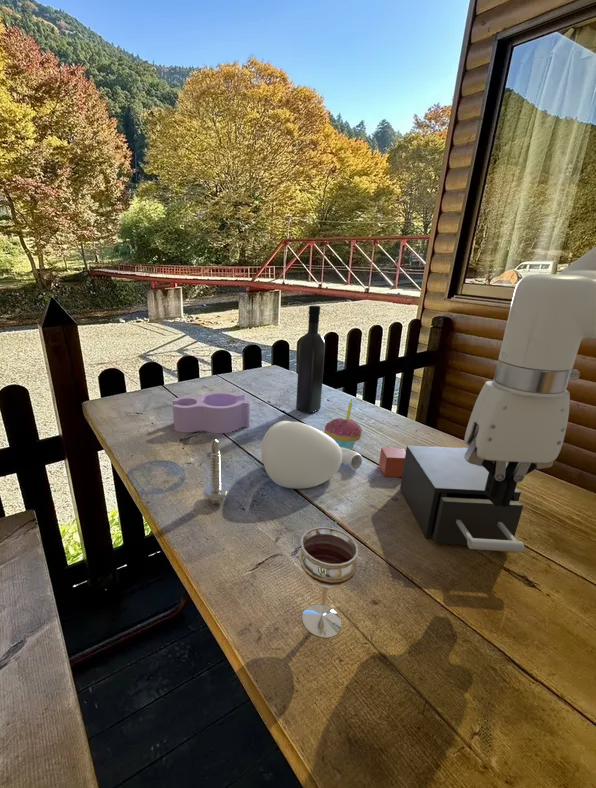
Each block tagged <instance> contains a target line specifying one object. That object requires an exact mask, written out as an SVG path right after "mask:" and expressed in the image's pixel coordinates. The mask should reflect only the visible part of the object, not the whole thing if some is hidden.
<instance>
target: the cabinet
mask: <svg viewBox="0 0 596 788" xmlns="http://www.w3.org/2000/svg"><path fill="white" fill-rule="evenodd" d="M468 448H469V447H454V446H453V447H452V446H451V447H450V446H424V445H423V446H422V445H406V449H405V453H406V454H405V461H404V467H403V473H402V477H401V480H400V485H399V490H400V492H401V494H402V496H403V498H404V500H405V502H406V503H407V506H408V507H409V509H410V511H411V513H412V515H413V517H414V519H415V521H416V523H417V525H418V527H419V529H420V530H421V532H422V534H423V537H424V538H425V539H433V533H434V530H433V528H432V527H433V522H434V517H435V512H436V507H437V502H438V498H439V493H457V494H477V495H486V494H485V486H486V482H487V478H488V474H489V472H488V471H487V470H486V469H485V468H484V467H482V466H477V465H474V464H470V463H469V462H468V461H467V460H466V459H465V458H464V455H465V453H466V452H467V450H468ZM521 494H522V492H521V491H520V490H519V489H518V487H516V488H515V492H514V495H513V498H511V501H519V500H520V497H521ZM519 502H520V501H519Z"/></svg>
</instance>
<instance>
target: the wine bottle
mask: <svg viewBox="0 0 596 788" xmlns="http://www.w3.org/2000/svg"><path fill="white" fill-rule="evenodd" d="M320 315H321V305H309V306H308V326H307V327H308V328H307V332H306V333H305V334H304V335H303V336H302V337H301V339H300V342H299V345H298V363H297V380H296V381H297V384H296V398H295V399H296V401H295V409H296V410H297V409H299V410H298V411H300V410H302V411H301V412H303V411H305V412H304V413H306V412H313V411H315V410H318V409H320V410H321V406H322V405H321V403H322V393H323V392H322V391H323V382H324V381H323V379H324V367H325V353H326V343H325V339H324V337H323V336H322V334H320V333H319V328H320V327H319V324H320ZM318 411H319V410H318ZM315 412H316V411H315ZM313 413H314V412H313Z"/></svg>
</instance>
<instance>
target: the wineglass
mask: <svg viewBox="0 0 596 788" xmlns="http://www.w3.org/2000/svg"><path fill="white" fill-rule="evenodd" d="M358 554H359V546H358V545H357V542H356V540H354V539H353V537H352V536H351V535H349V534H347V533H346V532H345V531H343V530H340V529H338V528H335V527H330V526H329V527H328V526H317V527H314V528H310V529H309V530H307V531H305V532H304V533H303V535H302V536H301V539H300V549H299V555H298V557H299V562H300V566H301V569H302V573H304V575H305V577H307V579H309V580H310V581H311V582H312V583H314V584H316V585H317V586H320V587H321V601H320V604H312V605H309V606H308V607H306V608H305V609H304V610H303V612H302V616H301V621H302V624H303V626H304V627H305V629H306V630H308V632H309V633H311V634H312V635H314V636H316V637H320V638H326V639H327V638H332V637H335V636H336V635H338V634H339V633H340V632H341V629H342V623H343V622H342V620H341V617H340V616H339V614H338V613H337V612H336V611H335V610H334V609H333V608H331V607H329V606H328V605H326V603H327V597H328V590H329V589H333V588H340V587H343V586H345V585H347V584H348V583H349V582H351V581H352V579H353V577H354V576H355V574H356V572H357V567H358V565H357V564H358V560H357V556H358Z"/></svg>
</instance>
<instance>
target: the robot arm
mask: <svg viewBox="0 0 596 788" xmlns="http://www.w3.org/2000/svg"><path fill="white" fill-rule="evenodd" d="M502 339H503V340H502V342H501V347H500V350H499V355H498V358H497V363H496V367H495V371H494V375H493V379H492V380H487V381H485V382H484V384H483V386H482V388H481V390H480V392H479V394H478V396H477V398H476V401H475V403H474V405H473V407H472V411H471V414H470V416H469V419H468V423H467V427H466V429H465V434H464V438H463V440H464V444H465V445H467V446H468V447H467V448H468V450H467V452H466V453H465V455H464V458H465V459H466V460H467V461H468V462H469V463H470V464H474V465H477V466H482V467H484V468H485V469H486V470H487V471H488V472H489V474H488V478H487V482H486V486H485V494H486V496H487V497H488V498H489V499H490V501H491V502H492V503H493V504H494V505H495V506H499V507H500V506H503V507H509V504H510V501H511V498H513V495H514V492H515V488H517V485H518V483H521V482H523V481H524V479H525V477H526V476H527V475H529V474H530V473H532V472H533V471H535V470H543V469H548V468H551V467H552V466H553V465H554V461H555V460H557V458H558V456H559V454H560V453H561V450H562V447H563V445H564V440H565V436H566V432H567V428H568V423H569V422H568V421H569V415H570V406H571V405H570V404H571V395H570V394H571V393H570V391H569V390H567V388H568V386H569V383H570V381H576V380H578V379H579V378H580V375H581V374H580V373H581V372H580V370H578V369H577V368H574V364H575V361H576V360H577V359H576V358H577V355H578V353H579V348H580V346H581V342H582V340H584V339H594V340H596V246H595V247H594V248H592V249H590V250H589V251H587V252H586V253H585V254H583V255H582V256H580V257H579V258H577V259H576V260H574V261H573V262H572V263H570V264H569V265H568V266H567V267H565V268H564V269H563V270H561V271H560V272H559V273H556V274H555V273H537V274H530V275H526V276H524V277H522V278H521V279H520V280H519V281H518V282H517V284H516V286H515V289H514V292H513V297H512V300H511V303H510V308H509V313H508V317H507V321H506V326H505V329H504V333H503V338H502Z"/></svg>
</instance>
